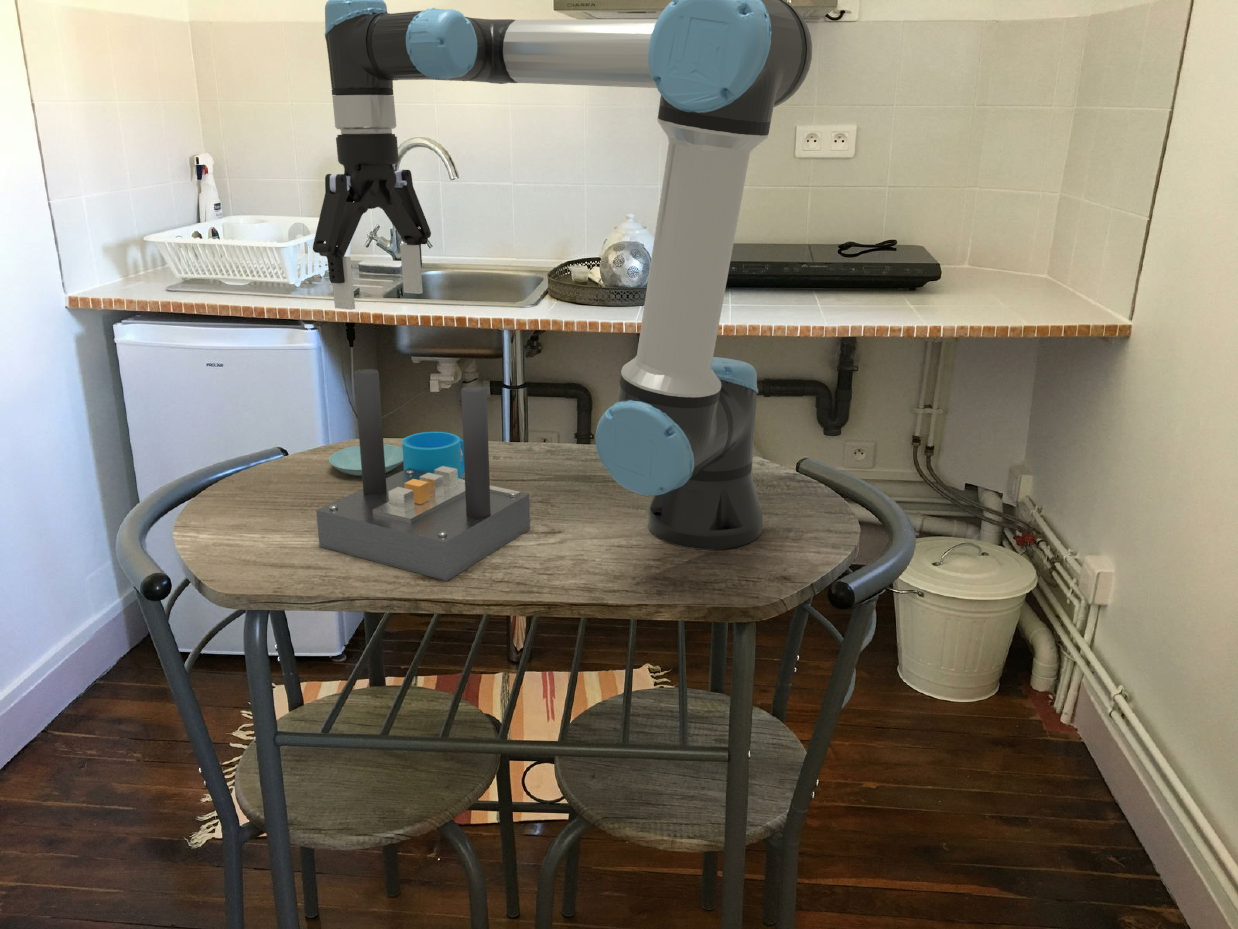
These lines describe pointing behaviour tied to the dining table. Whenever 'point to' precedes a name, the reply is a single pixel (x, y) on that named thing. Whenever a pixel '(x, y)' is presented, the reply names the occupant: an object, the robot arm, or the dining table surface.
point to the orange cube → (418, 490)
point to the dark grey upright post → (370, 431)
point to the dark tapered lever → (476, 451)
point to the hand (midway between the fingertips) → (380, 300)
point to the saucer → (351, 459)
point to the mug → (433, 452)
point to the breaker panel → (422, 524)
